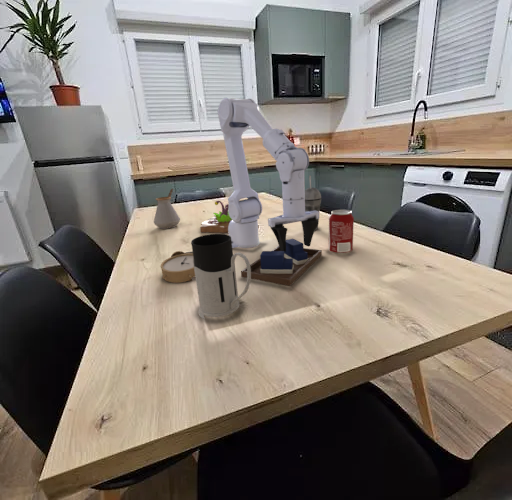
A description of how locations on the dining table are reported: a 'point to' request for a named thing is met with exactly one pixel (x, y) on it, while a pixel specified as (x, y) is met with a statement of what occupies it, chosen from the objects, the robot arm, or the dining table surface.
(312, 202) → the beverage cup
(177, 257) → the alarm clock
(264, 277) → the shoe tray
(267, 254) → the trainer
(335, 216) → the soda can
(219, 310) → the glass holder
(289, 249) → the trainer
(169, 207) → the coffee pot
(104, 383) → the dining table surface
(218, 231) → the plant
